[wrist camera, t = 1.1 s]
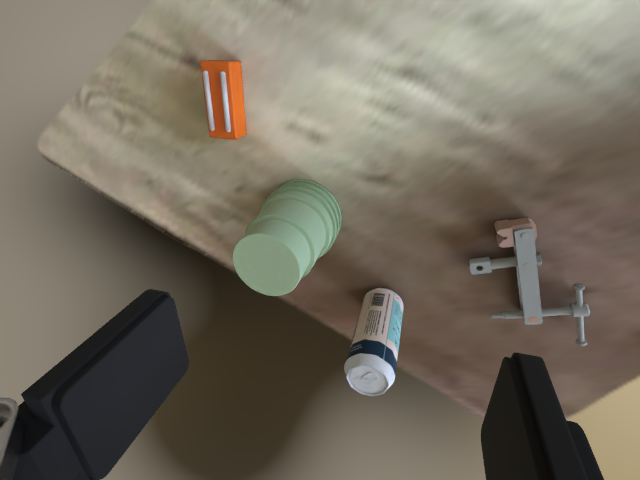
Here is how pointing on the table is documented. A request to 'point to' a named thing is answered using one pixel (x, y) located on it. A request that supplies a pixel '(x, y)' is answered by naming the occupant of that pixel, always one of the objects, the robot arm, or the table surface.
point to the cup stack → (287, 237)
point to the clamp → (527, 275)
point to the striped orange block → (224, 98)
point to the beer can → (375, 343)
